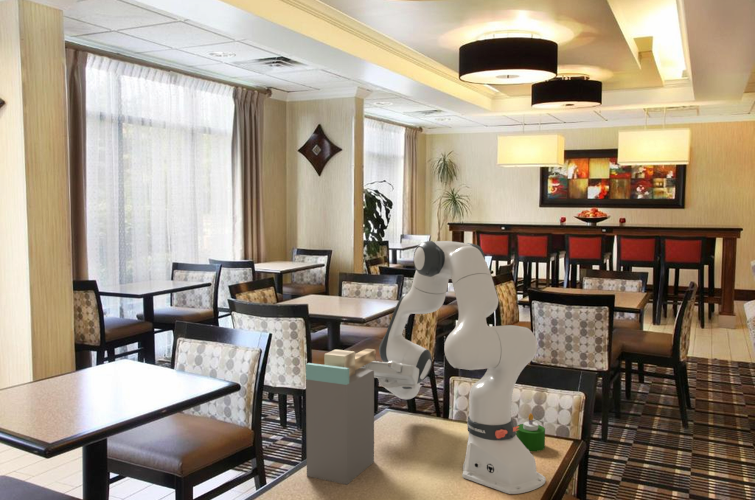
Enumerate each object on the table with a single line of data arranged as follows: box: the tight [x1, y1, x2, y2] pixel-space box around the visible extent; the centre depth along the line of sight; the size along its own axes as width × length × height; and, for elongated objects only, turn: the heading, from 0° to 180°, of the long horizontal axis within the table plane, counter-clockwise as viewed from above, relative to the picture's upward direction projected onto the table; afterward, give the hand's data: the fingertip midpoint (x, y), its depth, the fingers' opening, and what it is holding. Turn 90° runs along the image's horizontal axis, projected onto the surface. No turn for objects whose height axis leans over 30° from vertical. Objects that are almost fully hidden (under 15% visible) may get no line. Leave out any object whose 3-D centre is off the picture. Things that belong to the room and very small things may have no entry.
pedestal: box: [305, 362, 375, 485], centre depth 175 cm, size 16×12×30 cm
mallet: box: [323, 348, 377, 376], centre depth 181 cm, size 22×6×6 cm, turn 155°
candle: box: [516, 413, 546, 453], centre depth 192 cm, size 8×8×10 cm
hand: (376, 362), depth 194 cm, fingers open, 8 cm apart
